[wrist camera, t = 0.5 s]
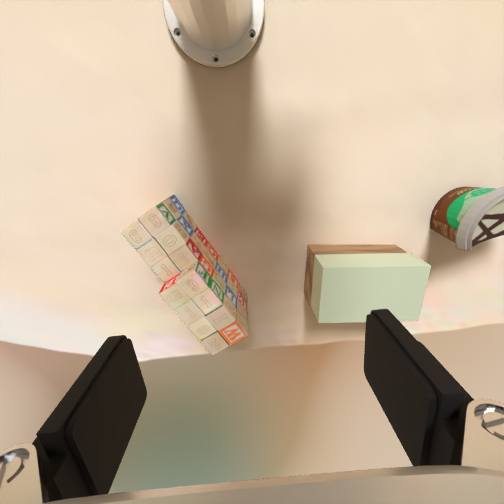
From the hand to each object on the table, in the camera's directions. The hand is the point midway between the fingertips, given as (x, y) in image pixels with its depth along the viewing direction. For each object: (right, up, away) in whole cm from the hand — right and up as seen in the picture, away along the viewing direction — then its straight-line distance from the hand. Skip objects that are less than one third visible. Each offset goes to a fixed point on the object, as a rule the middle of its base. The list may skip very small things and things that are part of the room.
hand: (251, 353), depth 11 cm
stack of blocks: (-9, +3, +36) cm, 38 cm away
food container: (+33, +12, +34) cm, 49 cm away
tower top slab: (+17, 0, +33) cm, 37 cm away
